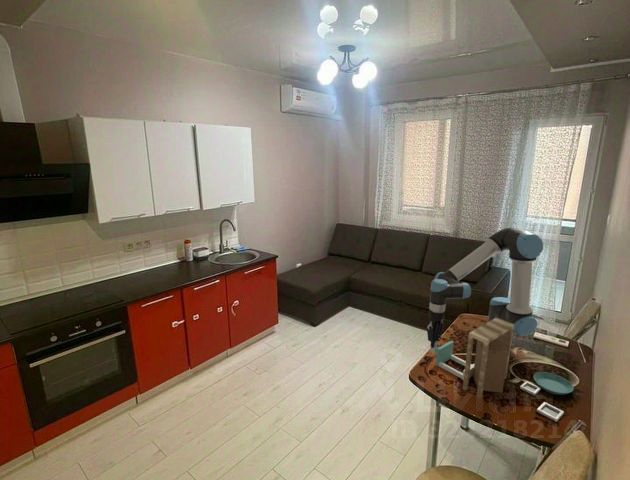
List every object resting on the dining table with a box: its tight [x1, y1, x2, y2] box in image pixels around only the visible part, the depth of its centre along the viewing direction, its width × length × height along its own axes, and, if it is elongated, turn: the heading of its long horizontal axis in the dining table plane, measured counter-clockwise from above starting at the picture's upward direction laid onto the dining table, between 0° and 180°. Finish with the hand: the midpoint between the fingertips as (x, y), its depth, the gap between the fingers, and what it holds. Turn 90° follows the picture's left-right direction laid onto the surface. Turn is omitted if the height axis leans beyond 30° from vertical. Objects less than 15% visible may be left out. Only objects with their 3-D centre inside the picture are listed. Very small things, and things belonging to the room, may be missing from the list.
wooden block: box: [472, 339, 508, 394], centre depth 152 cm, size 10×10×20 cm
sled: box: [434, 340, 475, 381], centre depth 165 cm, size 12×16×9 cm
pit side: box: [519, 380, 542, 397], centre depth 151 cm, size 6×6×1 cm
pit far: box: [536, 401, 565, 423], centre depth 137 cm, size 7×7×1 cm
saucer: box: [533, 371, 575, 396], centre depth 152 cm, size 15×15×3 cm
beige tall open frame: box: [462, 318, 514, 400], centre depth 152 cm, size 23×8×28 cm, turn 126°
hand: (433, 352), depth 176 cm, fingers closed
